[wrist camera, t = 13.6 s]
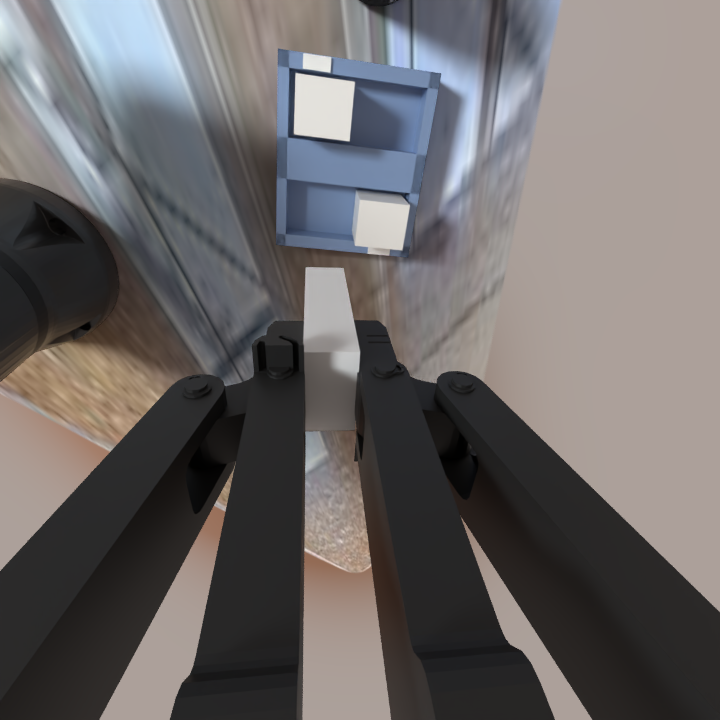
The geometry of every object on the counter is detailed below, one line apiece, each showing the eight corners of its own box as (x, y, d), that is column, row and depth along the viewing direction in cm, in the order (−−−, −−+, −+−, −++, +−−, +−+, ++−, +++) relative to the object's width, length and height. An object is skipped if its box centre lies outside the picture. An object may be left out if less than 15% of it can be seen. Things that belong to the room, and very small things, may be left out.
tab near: (298, 131, 33) (293, 134, 29) (300, 78, 31) (295, 73, 27) (346, 137, 34) (349, 141, 29) (351, 85, 32) (355, 81, 28)
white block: (351, 230, 38) (354, 245, 33) (356, 189, 36) (360, 199, 32) (394, 234, 38) (402, 250, 34) (400, 194, 36) (410, 205, 32)
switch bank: (279, 235, 39) (275, 245, 36) (282, 53, 31) (277, 48, 29) (402, 247, 40) (408, 258, 37) (431, 76, 33) (441, 73, 30)
